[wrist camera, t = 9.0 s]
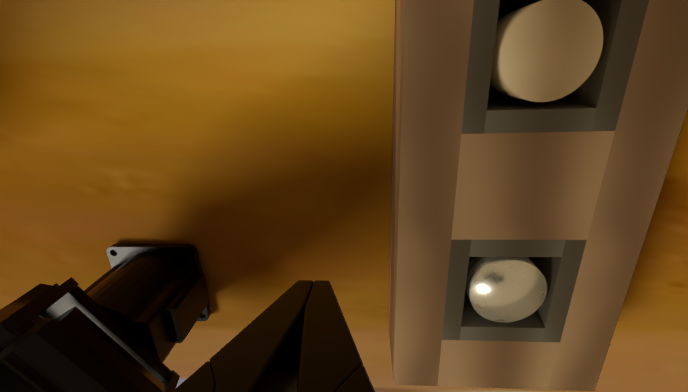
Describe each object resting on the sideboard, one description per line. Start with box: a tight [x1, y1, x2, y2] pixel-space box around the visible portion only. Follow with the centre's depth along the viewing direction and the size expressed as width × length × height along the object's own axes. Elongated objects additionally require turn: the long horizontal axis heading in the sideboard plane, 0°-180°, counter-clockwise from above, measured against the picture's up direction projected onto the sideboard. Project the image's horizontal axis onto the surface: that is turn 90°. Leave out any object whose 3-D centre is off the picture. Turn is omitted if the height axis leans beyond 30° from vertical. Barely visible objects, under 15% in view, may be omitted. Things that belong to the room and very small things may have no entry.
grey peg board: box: [389, 0, 688, 391], centre depth 18 cm, size 12×26×5 cm, turn 2°
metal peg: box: [465, 257, 547, 323], centre depth 20 cm, size 4×4×5 cm
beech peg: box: [489, 0, 603, 102], centre depth 16 cm, size 4×4×5 cm
